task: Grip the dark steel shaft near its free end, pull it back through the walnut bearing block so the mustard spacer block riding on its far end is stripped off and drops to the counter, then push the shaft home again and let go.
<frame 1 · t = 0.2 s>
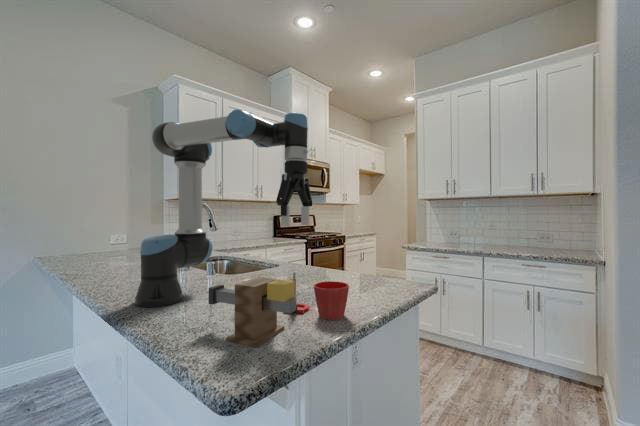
hand: (295, 225, 102), 28 cm above the counter, tool pointing down, fingers open, 13 cm apart
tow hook: (296, 310, 102), on the counter
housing: (256, 334, 81), on the counter
supplement bottle: (248, 310, 101), on the counter
spacer: (281, 297, 77), point 10 cm above the counter, touching shaft
flower pot: (331, 316, 95), on the counter
shaft: (251, 299, 81), point 9 cm above the counter, slide at 0.0 cm, touching spacer
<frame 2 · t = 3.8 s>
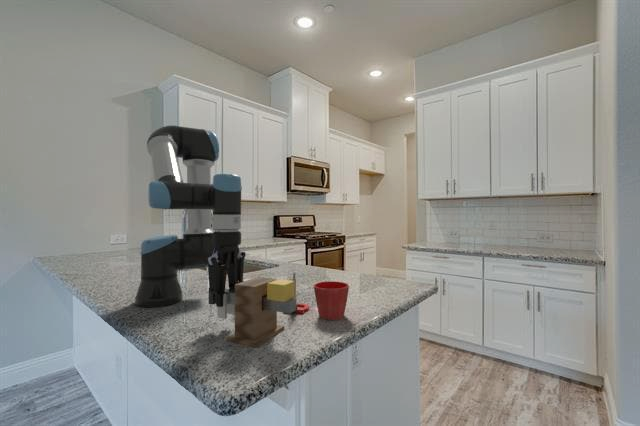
hand: (226, 315, 85), 4 cm above the counter, tool pointing down, fingers closed on shaft, 3 cm apart
shaft: (251, 299, 81), point 9 cm above the counter, slide at 0.0 cm, touching gripper, spacer
everything else where it was.
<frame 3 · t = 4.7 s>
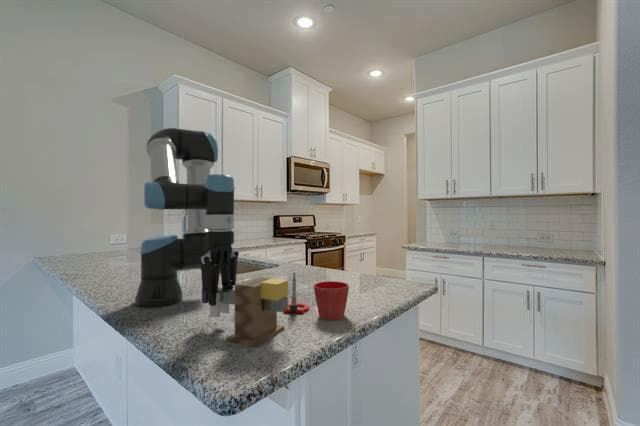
hand: (219, 314, 86), 4 cm above the counter, tool pointing down, fingers closed on shaft, 3 cm apart
spacer: (274, 297, 78), point 10 cm above the counter, touching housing, shaft
shaft: (243, 298, 82), point 9 cm above the counter, slide at 2.5 cm, touching gripper, spacer
everything else where it was.
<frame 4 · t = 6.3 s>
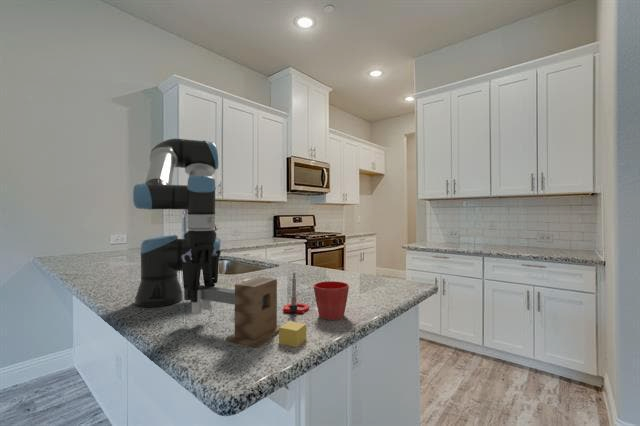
hand: (201, 310, 89), 4 cm above the counter, tool pointing down, fingers closed on shaft, 3 cm apart
spacer: (292, 325, 77), point 4 cm above the counter, tilted 180°
shaft: (224, 295, 85), point 9 cm above the counter, slide at 9.3 cm, touching gripper
everything else where it was.
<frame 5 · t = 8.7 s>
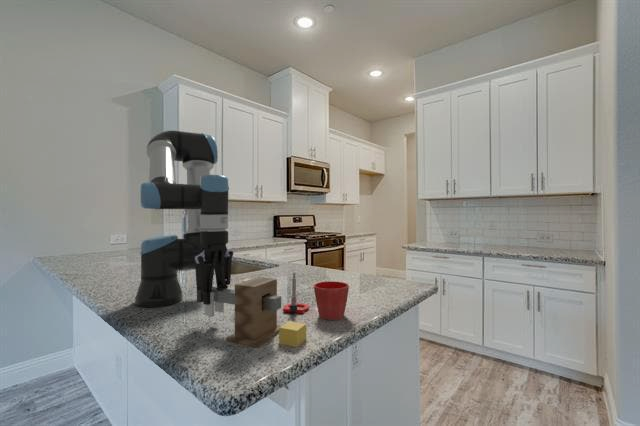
hand: (214, 313, 87), 4 cm above the counter, tool pointing down, fingers closed on shaft, 3 cm apart
shaft: (238, 297, 83), point 9 cm above the counter, slide at 4.4 cm, touching gripper
everything else where it was.
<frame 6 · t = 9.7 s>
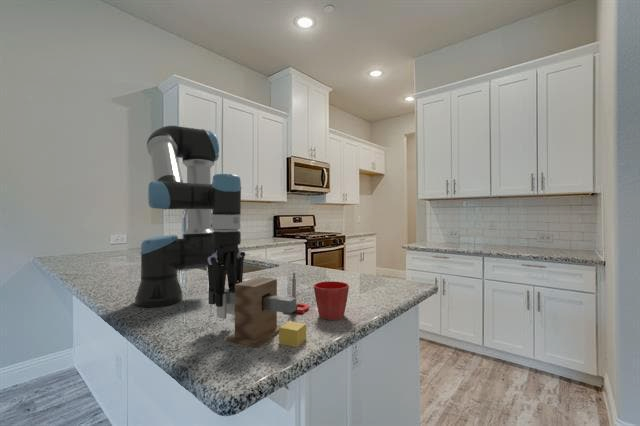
hand: (226, 315, 85), 4 cm above the counter, tool pointing down, fingers closed on shaft, 3 cm apart
shaft: (251, 299, 81), point 9 cm above the counter, slide at 0.0 cm, touching gripper
everything else where it was.
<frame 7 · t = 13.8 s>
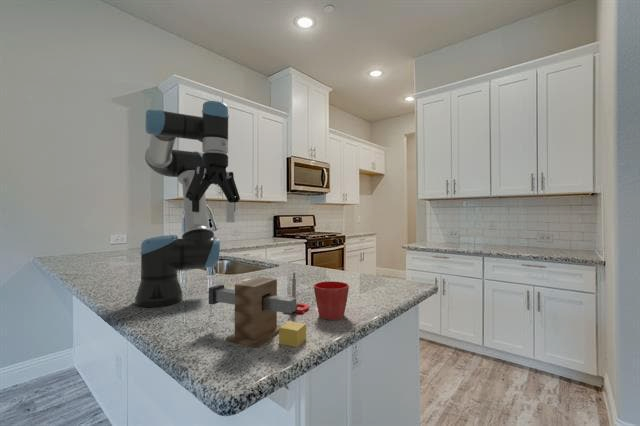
hand: (215, 223, 94), 29 cm above the counter, tool pointing down, fingers open, 13 cm apart
shaft: (251, 299, 81), point 9 cm above the counter, slide at 0.0 cm
everything else where it was.
at the end: spacer point 3.8 cm above the counter; spacer touching counter; shaft slide at 0.0 cm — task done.
